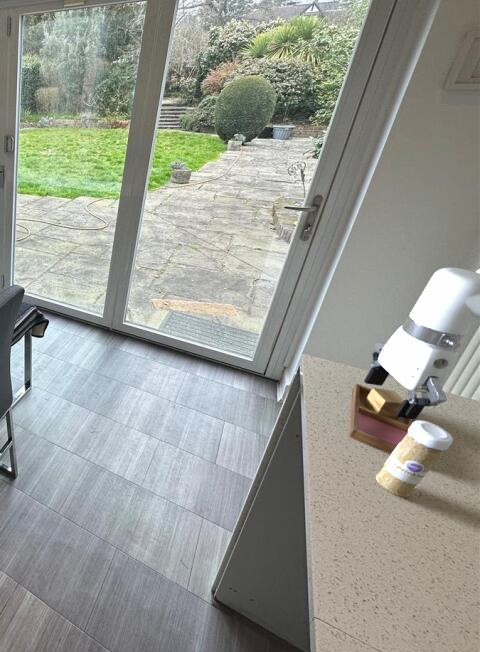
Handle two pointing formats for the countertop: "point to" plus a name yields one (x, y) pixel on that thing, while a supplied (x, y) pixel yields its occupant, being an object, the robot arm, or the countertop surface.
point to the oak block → (384, 402)
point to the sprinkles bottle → (413, 457)
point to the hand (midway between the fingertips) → (388, 399)
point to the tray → (375, 424)
